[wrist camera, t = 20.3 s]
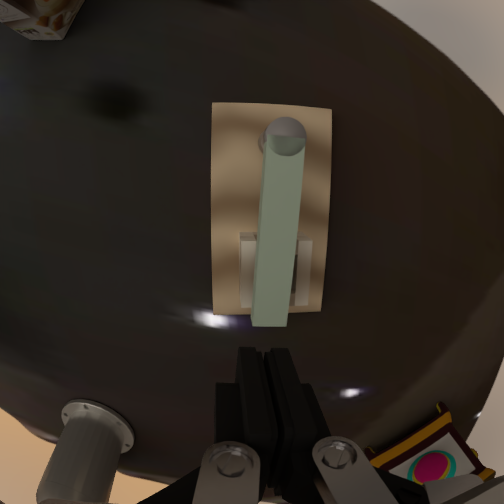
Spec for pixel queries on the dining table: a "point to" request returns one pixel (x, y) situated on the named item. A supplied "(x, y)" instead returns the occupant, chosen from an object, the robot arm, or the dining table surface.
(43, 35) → the coffee box
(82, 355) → the dining table surface
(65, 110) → the dining table surface
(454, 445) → the decorative lantern
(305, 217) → the pintle board
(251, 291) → the collar
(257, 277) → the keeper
